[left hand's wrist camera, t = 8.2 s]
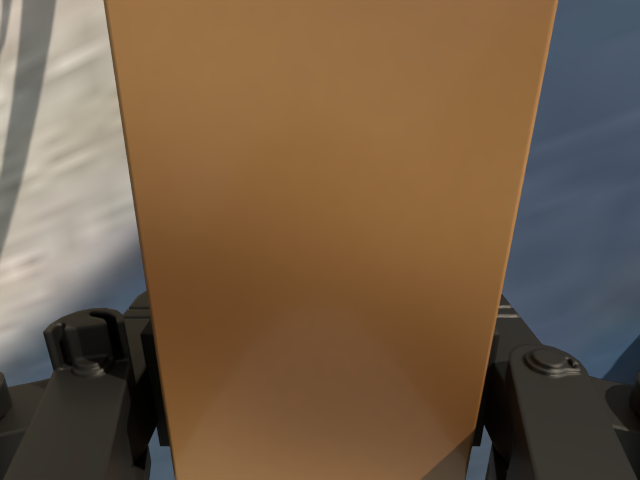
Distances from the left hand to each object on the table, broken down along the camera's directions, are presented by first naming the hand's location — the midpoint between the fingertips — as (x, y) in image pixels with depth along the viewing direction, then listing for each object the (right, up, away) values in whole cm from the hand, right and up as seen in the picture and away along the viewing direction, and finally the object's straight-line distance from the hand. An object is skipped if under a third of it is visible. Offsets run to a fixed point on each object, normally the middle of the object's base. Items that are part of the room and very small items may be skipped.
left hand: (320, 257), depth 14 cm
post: (0, -26, +11) cm, 28 cm away
